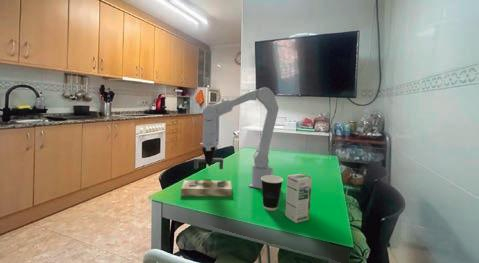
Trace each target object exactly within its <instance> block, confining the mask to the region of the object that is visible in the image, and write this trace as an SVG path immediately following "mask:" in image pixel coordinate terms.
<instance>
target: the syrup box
mask: <svg viewBox="0 0 479 263" xmlns="http://www.w3.org/2000/svg"><path fill="white" fill-rule="evenodd" d="M312 183H313V178H312V177H311V176H309V175H306V174H304V173H297V174H288V175H287V177H286V193H285V194H286V198H285V217H287V219H289V220H291V221H292V222H293V223H294V224H295V223H296V224H297V223H301V222H305V221H309V220H310V217H311V216H310V214H311V213H310V212H311V198H312Z"/></svg>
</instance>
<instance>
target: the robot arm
mask: <svg viewBox="0 0 479 263" xmlns="http://www.w3.org/2000/svg"><path fill="white" fill-rule="evenodd" d="M257 100H258V102H260V103H261V104H262V105H263V107H264V108H265V109H266V114H265V118H264V121H263V126H262V131H261V135H260V139H259V143H258V145H257V149H256V150H255V152H254V154H253V160H254V163H253V164H252V168H251V169H252V171H251V172H252V173H251V183H250V184H249V185H248V187H249V188H255V189H256V188H257V189H261V190H262V180H261V177H262V176H266V175H273V176H274V168H272V167H269V162H270V160H269V155H270V154H269V153H270V145H271V142H272V137H273V133H274V129H275V125H276V121H277V117H278V112H279V110H280V109H279V105H278V103H277V99H276V97H275V94H274V92H273V91H272V90H271V89H270V88H269V87H267V86H266V87H265V86H264V87H263V86H262V87H261V88H259V89H253V90H250V91H247V92H245V93H243V94H241V95H239V96H237V97H235V98H233V99H231V100H230V99H228V98H226V99H224V98H222V99H221V100H220V101H219V102H216V103H211V104H210V106H206V107H205V108H204V109H203V110H202V117H203V123H202V142H200V143H199V145H200V146H202V149H201V150H202V152H203V156H204V158H205V161H206V162H205V164H206V165H211V164H212V163H213V162H212V158H213V156H214V153H215V151H216V145H217V143H216V142H217V141H216V138H217V134H216V133H217V123H216V120H217V119H216V118H217V117H221V116H224V115H225V114H227V113H230V112H232V111H233V108H234V107H236V106H239V105H241V104H243V103H246V102H248V101H257Z"/></svg>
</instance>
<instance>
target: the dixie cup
mask: <svg viewBox="0 0 479 263" xmlns="http://www.w3.org/2000/svg"><path fill="white" fill-rule="evenodd" d="M261 180H262V189H261V190H262V194H261V195H262V206H263V208H264V209H265V210H266V211H270V212H271V211H277V210H278V207H279V203H280V202H279V201H280V196H281V192H282V185H283V182H284V178H283V177H281V176H278V175H274V174H273V175H266V176H262V177H261Z"/></svg>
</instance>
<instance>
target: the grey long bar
mask: <svg viewBox="0 0 479 263" xmlns="http://www.w3.org/2000/svg"><path fill="white" fill-rule="evenodd" d="M199 163H206V161H205V157H194V158H193V170H197V169H198V168H199ZM211 163H219V166H218V168H219V170H224V158H223V157H212V162H211Z"/></svg>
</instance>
